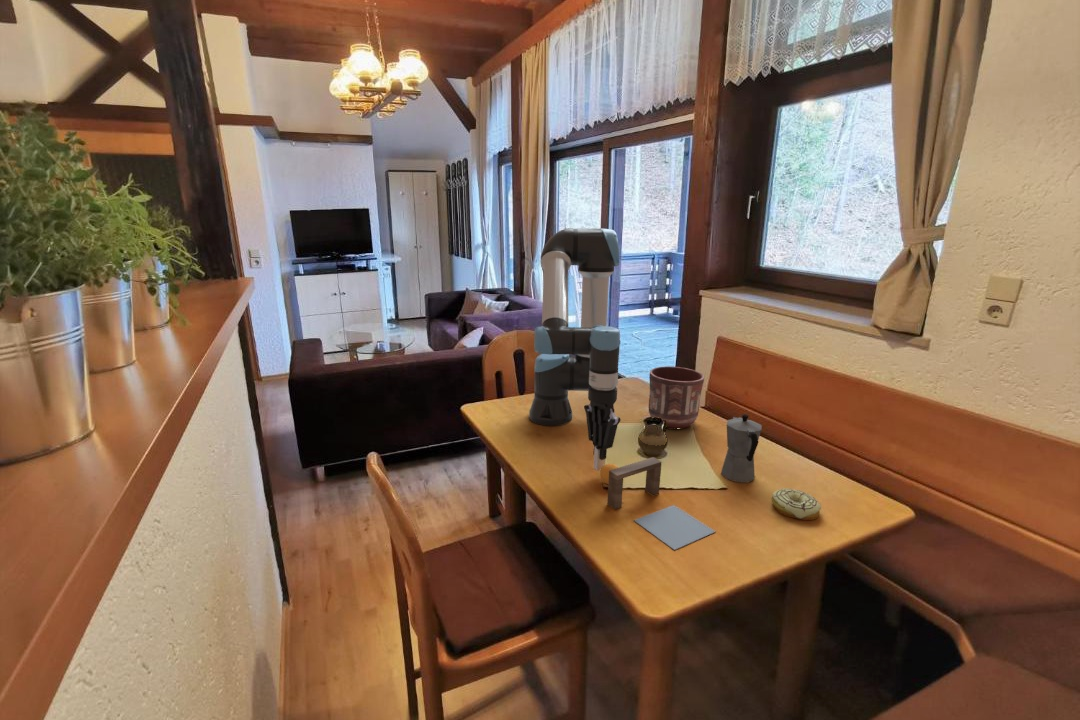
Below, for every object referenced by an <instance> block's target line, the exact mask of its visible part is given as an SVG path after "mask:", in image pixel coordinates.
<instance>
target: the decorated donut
mask: <svg viewBox="0 0 1080 720" xmlns="http://www.w3.org/2000/svg"><path fill="white" fill-rule="evenodd" d="M771 501H772V505H773V506H774V508H775V509H776V510H777V511H778V512H779V513H780V514H782V515H784V516H785V517H789V518H792V519H797V520H801V521H811V520H816V519H817V518H818V517H819V515H820V511H821V509H822V507H821V506H822V505H821V504H820V502H819V501H818V500H817V499H816V498H815V497H814V496H813V495H810V494H809V493H806V492H805V491H802V490H798V489H793V488H780V489H778V490H775V491H774V492H773V493H772V496H771Z"/></svg>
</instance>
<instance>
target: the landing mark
mask: <svg viewBox="0 0 1080 720" xmlns="http://www.w3.org/2000/svg"><path fill="white" fill-rule="evenodd" d="M633 522H635V523H636V524H638V525H639V526H640V527H642V528H643V529H644V530H646V531H648V533H650V534H651V535H653V536H654V537H655V538H657V539H658V540H659V541H661V542H662V543H663V544H665V545H666V546H668V547H669V548H671V549H672V550H673V551H677V550H679V549H681V548H683V547H685V546H688V545H691V544H692V543H694V542H697V541H699V540H702V539H703V538H705V537H709V536H710V535H713V534H715V533H716V532H717V531H715V530H714V529H713V528H711V527H709V526H708V525H706V524H705V523H703V522H701V521H700V520H698V519H696V518H695V517H693V516H692V515H690V514H689V513H687V512H686V511H685V510H682V508H680V507H677V506H676V505H675V504H672V505H670V506H666V507H664V508H662V509H660V510H657V511H655V512H651V513H649V514H647V515H644V516H641V517H638V518H636V519H634V520H633Z"/></svg>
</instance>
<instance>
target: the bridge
mask: <svg viewBox="0 0 1080 720" xmlns="http://www.w3.org/2000/svg"><path fill="white" fill-rule="evenodd" d="M643 472H646V473H645V487H644V492H646V493H648V494H649V495H651V496H652V497H654V496H657V495H660V484H661V473H662V460H659V459H657V458H656V457H654V456H652V457H649V458H646V459H641V460H640V461H635V462H633V463H630V464H629V463H628V464H625V465H623V466H620V467H619V466H618V468H616V469H613V470H609V484H607V485H608V486H607V487H608V488H607V505H608V506H609V507H611V508H612V509H613V510H618V509H621V508H622V506H623V505H622V504H623V491H624V490H623V489H624V479H625V478H628V477H631V476H634V475H637V474H641V473H643Z"/></svg>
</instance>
